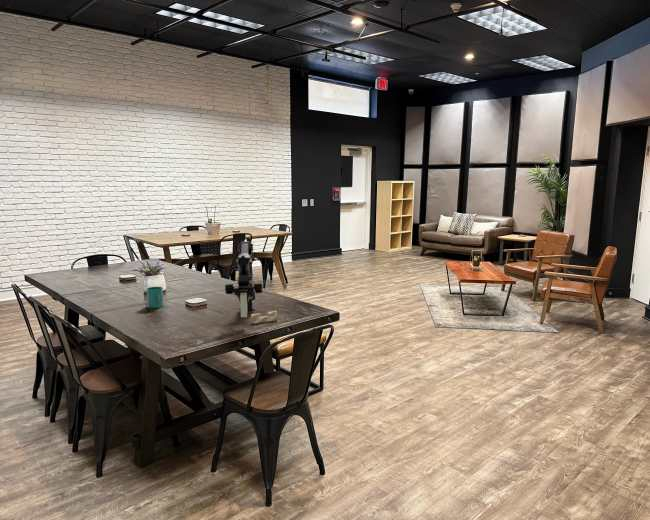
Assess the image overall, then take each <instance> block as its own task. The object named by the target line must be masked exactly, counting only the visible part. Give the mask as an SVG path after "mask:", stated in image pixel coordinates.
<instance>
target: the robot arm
mask: <svg viewBox="0 0 650 520" xmlns="http://www.w3.org/2000/svg"><path fill="white" fill-rule="evenodd" d="M253 252H254V244H253V243H252V242H250V241H241V242H240V243H238V253H239V255H238V256H237V257H238V258H236V266H237V268H238V269H237V270H238V277H237V278H238V279H237V285H234V284H233V283H227V284H225V286H224V289H225V290H224V291H225V294H226V295H233V294H234V296H235V297H236V298H237V299H238V302H239V303H240V295H241V293H247V312H250V311H253V310H254V311H255V309H256V308H253V301H254V300H256V294H263V284H262V283H261V282H259V283H257V282H256V283H254V285H252V283H251V282H250V281H253V274H252V273H251V271H250V268H251V266H252V265H253V262H254V261H253V260H252V256H253ZM239 311H241V308H239Z"/></svg>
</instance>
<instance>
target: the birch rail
mask: <svg viewBox="0 0 650 520" xmlns="http://www.w3.org/2000/svg"><path fill="white" fill-rule="evenodd" d="M273 321H278V311H277V310H272V311H268V312H267V315H265V316H264V315H263V316H261V313H258V312H257V313H251V314H250V322H251V324H260V323H266V322H273Z"/></svg>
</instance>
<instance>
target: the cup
mask: <svg viewBox="0 0 650 520" xmlns="http://www.w3.org/2000/svg"><path fill="white" fill-rule="evenodd" d="M146 299H147V300H146V302H147V303H146V304H147V308H149V309H160V308H163V307H164V306H165V305H164V304H165V303H164V302H165V301H164V287H162V286H150V287H147V288H146Z"/></svg>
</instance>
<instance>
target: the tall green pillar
mask: <svg viewBox="0 0 650 520" xmlns="http://www.w3.org/2000/svg"><path fill="white" fill-rule="evenodd" d="M239 304H240V309H241V310H240V318H248V311H247V293H241V295H240V302H239Z"/></svg>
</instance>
